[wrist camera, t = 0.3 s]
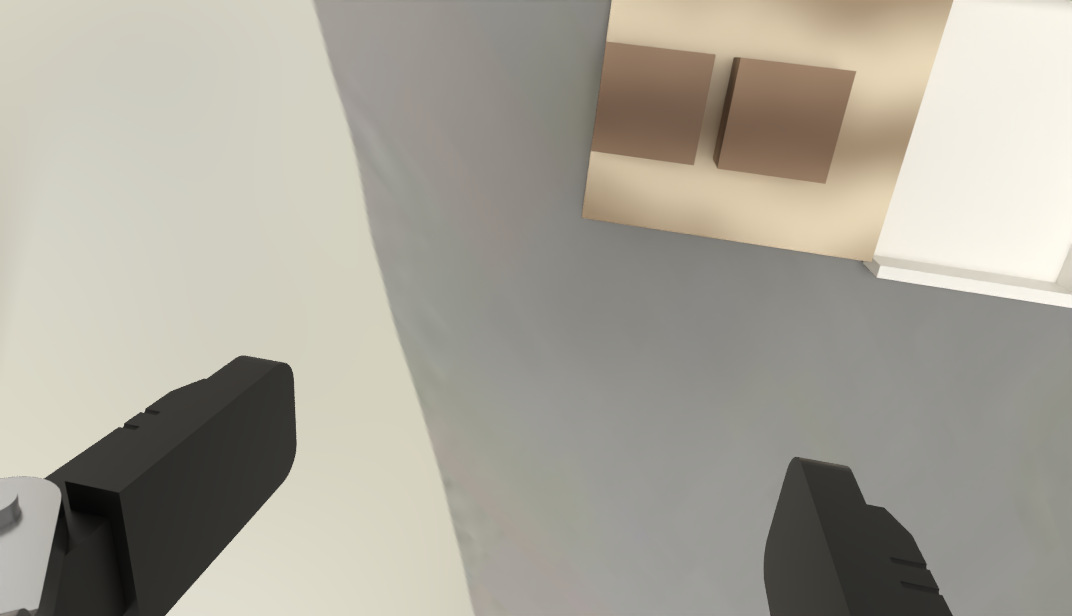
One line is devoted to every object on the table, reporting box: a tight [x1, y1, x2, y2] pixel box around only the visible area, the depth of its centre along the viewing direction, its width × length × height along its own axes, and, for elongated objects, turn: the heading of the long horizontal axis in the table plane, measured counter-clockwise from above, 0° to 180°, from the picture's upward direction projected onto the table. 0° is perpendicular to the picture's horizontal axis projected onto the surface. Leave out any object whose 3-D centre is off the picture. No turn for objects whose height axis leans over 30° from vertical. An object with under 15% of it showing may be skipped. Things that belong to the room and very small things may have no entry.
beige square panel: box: [582, 0, 953, 262], centre depth 31 cm, size 12×14×2 cm
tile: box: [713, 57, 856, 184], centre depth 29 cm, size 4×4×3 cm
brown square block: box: [591, 42, 716, 165], centre depth 30 cm, size 4×4×3 cm
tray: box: [863, 0, 1072, 308], centre depth 30 cm, size 13×9×2 cm
